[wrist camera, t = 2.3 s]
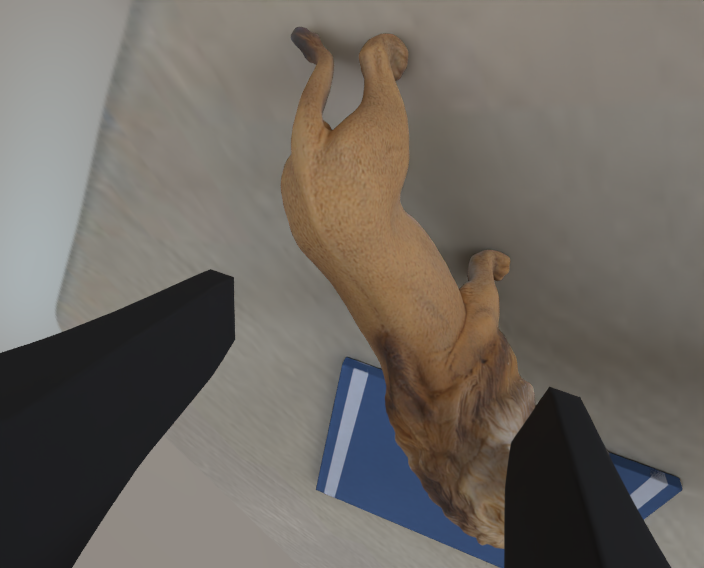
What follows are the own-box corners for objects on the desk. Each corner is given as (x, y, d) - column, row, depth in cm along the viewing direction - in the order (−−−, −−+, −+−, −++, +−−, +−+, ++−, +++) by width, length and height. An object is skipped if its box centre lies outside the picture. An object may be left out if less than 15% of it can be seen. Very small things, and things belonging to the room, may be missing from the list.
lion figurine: (596, 325, 16) (651, 584, 9) (473, 365, 19) (444, 582, 12) (358, -37, 12) (139, -61, 5) (251, 86, 15) (22, 172, 8)
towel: (679, 477, 19) (683, 490, 19) (551, 579, 27) (552, 590, 27) (345, 356, 22) (341, 364, 21) (318, 481, 30) (315, 490, 29)
